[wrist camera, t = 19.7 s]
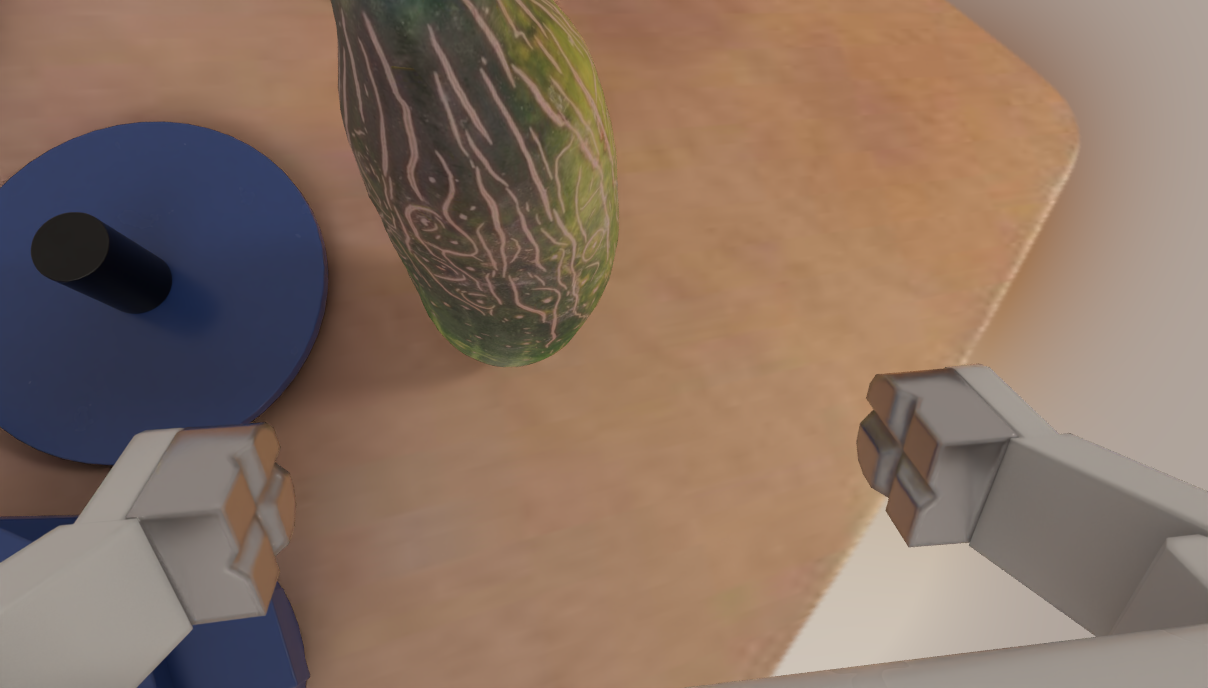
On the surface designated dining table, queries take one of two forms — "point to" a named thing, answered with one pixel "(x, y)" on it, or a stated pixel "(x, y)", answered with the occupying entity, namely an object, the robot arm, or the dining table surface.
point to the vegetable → (485, 164)
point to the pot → (205, 634)
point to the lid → (151, 288)
